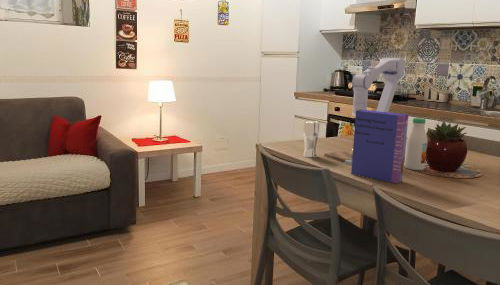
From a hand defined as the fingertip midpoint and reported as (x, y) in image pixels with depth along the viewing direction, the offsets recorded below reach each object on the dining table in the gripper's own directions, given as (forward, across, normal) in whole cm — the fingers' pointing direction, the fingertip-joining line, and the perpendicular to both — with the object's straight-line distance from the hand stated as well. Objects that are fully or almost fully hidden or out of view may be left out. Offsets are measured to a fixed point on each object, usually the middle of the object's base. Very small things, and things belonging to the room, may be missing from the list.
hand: (357, 134), depth 190 cm
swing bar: (+9, -6, -3) cm, 11 cm away
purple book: (+10, -30, -8) cm, 33 cm away
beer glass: (+10, -4, +19) cm, 22 cm away
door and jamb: (+10, -4, -2) cm, 11 cm away
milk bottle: (+10, -9, -23) cm, 27 cm away
